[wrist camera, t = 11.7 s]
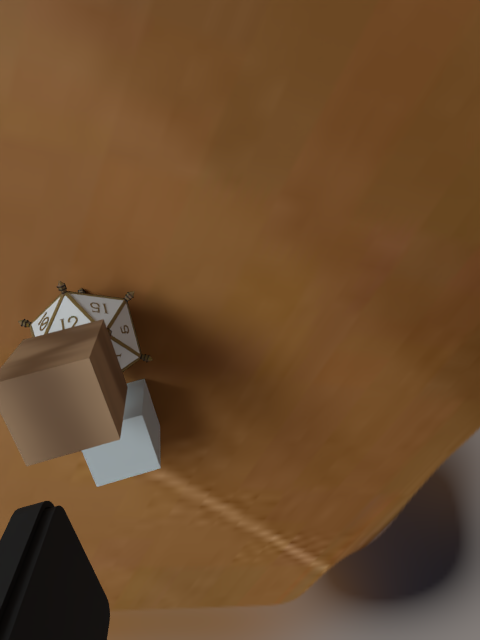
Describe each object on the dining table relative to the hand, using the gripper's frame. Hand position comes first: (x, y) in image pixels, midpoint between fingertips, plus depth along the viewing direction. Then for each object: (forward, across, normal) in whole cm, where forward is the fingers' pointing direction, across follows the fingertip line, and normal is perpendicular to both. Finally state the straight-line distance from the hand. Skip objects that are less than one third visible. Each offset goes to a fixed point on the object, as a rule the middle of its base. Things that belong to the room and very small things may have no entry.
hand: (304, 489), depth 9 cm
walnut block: (+20, +10, +4) cm, 22 cm away
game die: (+28, +10, +4) cm, 30 cm away
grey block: (+28, +11, +12) cm, 32 cm away
